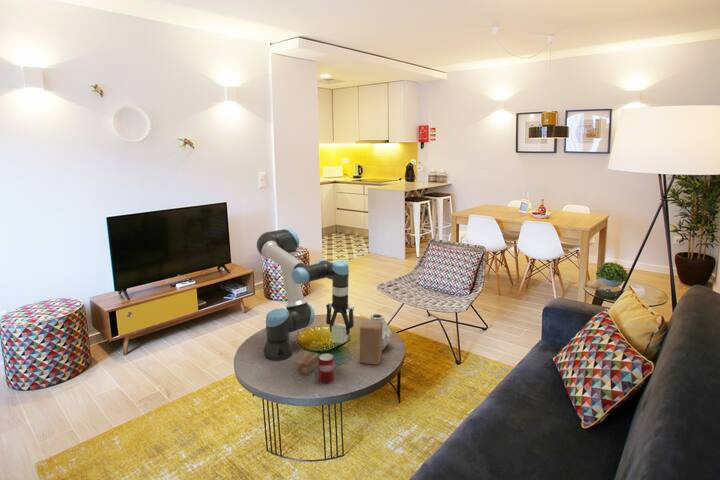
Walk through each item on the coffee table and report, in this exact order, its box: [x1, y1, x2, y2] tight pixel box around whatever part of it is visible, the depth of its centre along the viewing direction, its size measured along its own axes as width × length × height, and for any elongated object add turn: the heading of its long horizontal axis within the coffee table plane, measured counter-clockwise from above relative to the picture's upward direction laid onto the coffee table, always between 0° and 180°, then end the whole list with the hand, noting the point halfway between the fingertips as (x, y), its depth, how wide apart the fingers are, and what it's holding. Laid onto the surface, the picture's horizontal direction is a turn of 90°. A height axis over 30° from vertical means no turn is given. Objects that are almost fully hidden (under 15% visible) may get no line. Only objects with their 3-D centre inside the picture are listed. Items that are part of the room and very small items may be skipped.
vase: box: [368, 313, 393, 351], centre depth 250 cm, size 16×16×18 cm
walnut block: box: [296, 351, 319, 377], centre depth 228 cm, size 5×12×6 cm, turn 158°
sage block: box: [331, 322, 346, 344], centre depth 224 cm, size 6×6×7 cm
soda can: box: [317, 353, 335, 385], centre depth 217 cm, size 7×7×12 cm
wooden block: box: [359, 319, 383, 366], centre depth 236 cm, size 10×10×20 cm
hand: (339, 339), depth 224 cm, fingers closed on sage block, 6 cm apart
